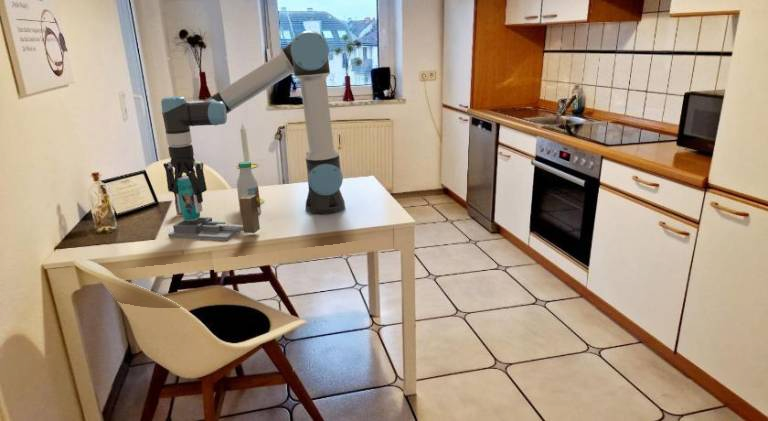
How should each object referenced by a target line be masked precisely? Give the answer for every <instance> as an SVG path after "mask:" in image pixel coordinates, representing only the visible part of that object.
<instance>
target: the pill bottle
mask: <svg viewBox="0 0 768 421" xmlns="http://www.w3.org/2000/svg"><path fill="white" fill-rule="evenodd" d="M174 205H175V211H176V215H177V216H178V217H183V216H182V212H179V208H178V202H176V200H175V199H174Z"/></svg>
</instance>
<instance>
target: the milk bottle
mask: <svg viewBox="0 0 768 421" xmlns="http://www.w3.org/2000/svg"><path fill="white" fill-rule="evenodd" d="M251 164H252V162H251V161H250V162H248V161H246V162H244V161H241V162H238V165H237V166H239V169H238V170H239V174H238V178H237V181H236V182H237V183H236V190H237V197H238V198H237V199H238V206H239V213H240V214H241V209H240V201H239V198H241V197H242V196H244V195H256V201H257V209H258V215H260V214H261V213H262V208H261V204H260V199H261V198H260V190H259V184H258V181H257V178H256V176H255V175H254V173H253V171H252V169H251V168H252V167H251Z"/></svg>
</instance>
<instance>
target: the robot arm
mask: <svg viewBox="0 0 768 421" xmlns="http://www.w3.org/2000/svg"><path fill="white" fill-rule="evenodd" d="M329 54H330V48H329V44H328V42H327V41H326V39H325V37H324V36H323V35H322V34H320V33H318V32H317V31H314V30H304V31H301V32H299V33H297V34H296V35H295V37H294V38H293V39H292V40H291V42H289V43H288V44H287V45H286V46H284V47H282V48H281V49H280V52H279V54H277V55H275V56H274V57H272V58H271V59H269V60H267V61H266V62H265V63H262V64H261V65H260V66H258V67H257V68H255V69H253V70H251V71H250V72H247V74H245V75H243V76H242V77H241V78H239V79H237V80H236V81H234V82H232V83H231V84H229V85H228V86H226V87H224V88H223V89H221V90H220V91H219V92H216V93H215V94H213V95H212V96H209V97H208V98H206V99H205V100H204V101H200V102H187V100H186V97H184V96H167V97H163V98H162V99H161V101H160V103H161V104H160V105H161V114H162V118H163V123H164V129H165V135H166V136H165V137H166V144H167V145H168V147H167V148H168V154H169V157H170V161H167V162H164V163H163V168H164V170H165V176H166V184H167V191H168V192H169V193H171V192H172V193H173V194H174V201H175V200H176V202H178V208H179V212H182V210H181V204H180V198H179V192H178V186H177V181H178V179H179V178H180V177H182V176H183V174H185V176H186V175H187V176H188V178H189V180H190V182H191V185H192V187H193V189H194V191H195V194H194V195H193V196H194V202H195V209H196V213H199V212H200V213H201V212H203V206H202V205H203V204H202V203H203V201H204V198H203V193H204V192H206V191H207V190H208V189H207V184H206V179H205V178H206V177H205V174H204V163H203V162H198V161H196V159H195V158H194V155H195V154H194V147H193V146H194V145H192V134H191V128H190V127H197V126H199V127H200V126H220V125H226V123H227V120H228V119H227V118H228V117H227V116H228V115H227V114H229V113H230V112H232V111H233V110H235V109H237V108H238V107H240V106H241V105H243V104H245V103H246V102H247V101H250V100H251V99H253V98H254V97H256V96H258V95H259V94H261V93H262V92H264V91H266V90H267V89H269V88H271V87H272V86H274V85H275V84H277V83H278V82H280V81H282V80H284V79H285V78H287V77H289V76H290V75H291V74H294V77H295V78H296V79H297V80H299V81H300V92H301V97H302V104H303V106H302V107H303V114H304V121H305V129H306V137H307V138H306V139H307V144H308V145H307V146H308V151H307V152H306V154H305V164H306V172H307V185H308V191H307V192H308V193H307V197H306V201H305V211H306V213H309V214H312V215H320V216H321V215H331V214H337V213H340V212H342V211H344V210H345V208H346V204H345V203H346V202H345V199H344V197H343V194H342V192H341V189H340V188H341V186H342V185H343V181H344V179H343V178H344V176H343V172H342V171H341V169H342V168H341V161H340V153H339V152H338V151H337V150H335V148H334V147H335V146H334V137H333V129H332V121H331V110H330V103H329V94H328V84H327V78H328V76H329V75H330V73H331V71H330V62H329V61H330V60H329ZM177 178H178V179H177Z"/></svg>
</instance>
